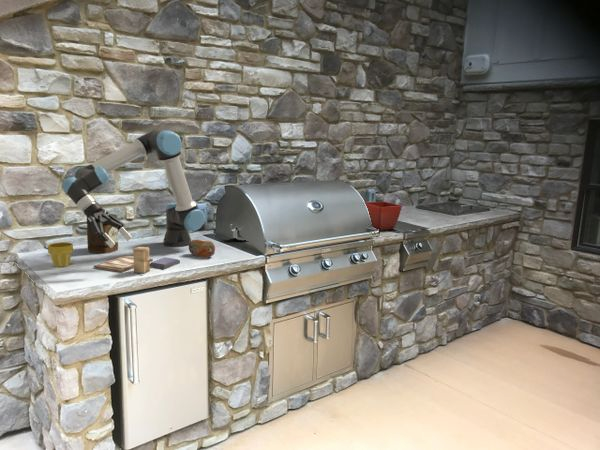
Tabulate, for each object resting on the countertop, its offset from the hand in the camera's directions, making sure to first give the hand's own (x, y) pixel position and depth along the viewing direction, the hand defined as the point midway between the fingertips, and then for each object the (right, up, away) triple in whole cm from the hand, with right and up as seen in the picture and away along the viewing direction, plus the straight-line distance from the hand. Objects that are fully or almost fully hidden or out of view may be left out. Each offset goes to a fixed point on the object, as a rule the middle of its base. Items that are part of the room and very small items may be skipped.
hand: (121, 242), depth 220 cm
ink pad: (+15, -11, +14) cm, 23 cm away
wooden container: (-23, -5, +36) cm, 43 cm away
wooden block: (+9, -13, +1) cm, 16 cm away
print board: (-3, -11, +12) cm, 16 cm away
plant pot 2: (+136, +5, +117) cm, 180 cm away
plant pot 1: (-31, -11, +8) cm, 34 cm away
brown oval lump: (+30, -8, +31) cm, 44 cm away
